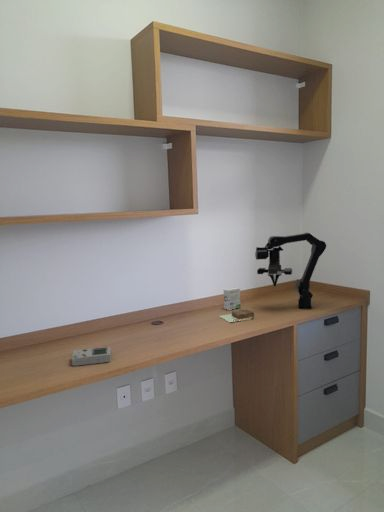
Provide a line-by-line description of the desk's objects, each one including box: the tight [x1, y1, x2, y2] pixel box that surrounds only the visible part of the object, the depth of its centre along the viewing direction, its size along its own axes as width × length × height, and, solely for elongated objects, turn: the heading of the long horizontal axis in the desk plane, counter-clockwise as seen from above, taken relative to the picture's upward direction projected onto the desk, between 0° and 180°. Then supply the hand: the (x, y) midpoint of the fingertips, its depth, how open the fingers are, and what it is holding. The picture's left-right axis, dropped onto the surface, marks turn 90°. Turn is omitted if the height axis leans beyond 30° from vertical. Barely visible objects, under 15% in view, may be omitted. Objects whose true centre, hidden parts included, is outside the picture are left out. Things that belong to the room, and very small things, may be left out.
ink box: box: [223, 287, 241, 311], centre depth 220 cm, size 8×5×12 cm, turn 121°
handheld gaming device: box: [71, 346, 112, 367], centre depth 151 cm, size 9×15×4 cm, turn 101°
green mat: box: [218, 313, 244, 323], centre depth 201 cm, size 14×14×1 cm
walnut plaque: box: [231, 308, 255, 319], centre depth 202 cm, size 2×8×9 cm
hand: (274, 286), depth 215 cm, fingers closed
